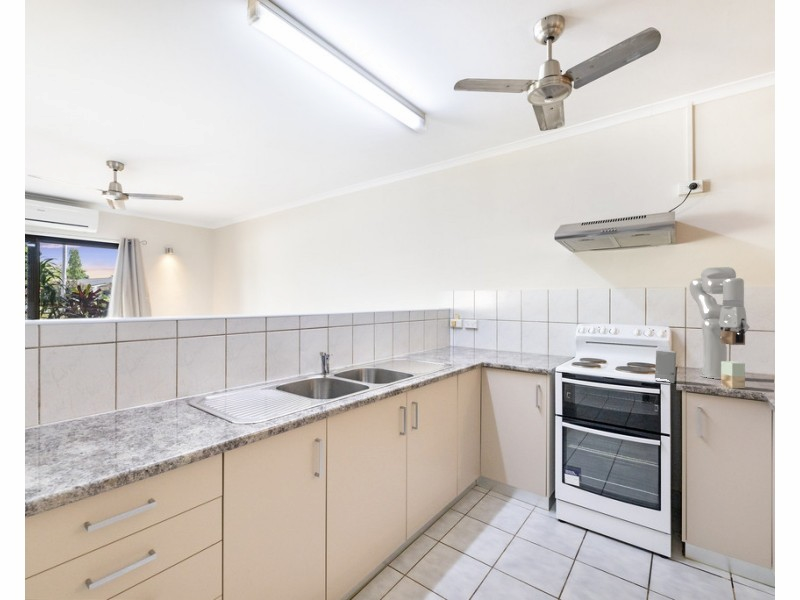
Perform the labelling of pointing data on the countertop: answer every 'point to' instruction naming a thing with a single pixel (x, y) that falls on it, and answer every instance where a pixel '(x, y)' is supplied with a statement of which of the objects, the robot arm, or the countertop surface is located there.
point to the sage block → (732, 368)
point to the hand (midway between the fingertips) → (733, 341)
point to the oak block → (733, 381)
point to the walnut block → (730, 338)
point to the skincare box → (665, 365)
